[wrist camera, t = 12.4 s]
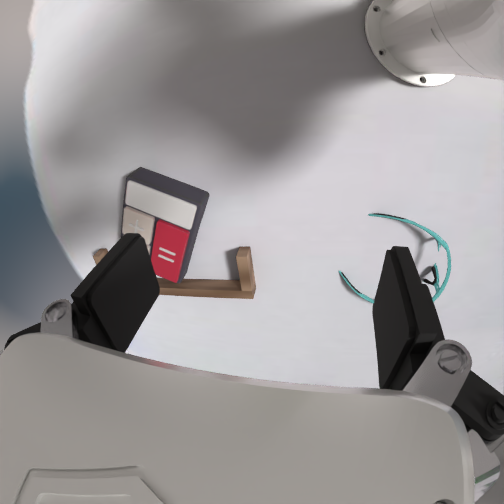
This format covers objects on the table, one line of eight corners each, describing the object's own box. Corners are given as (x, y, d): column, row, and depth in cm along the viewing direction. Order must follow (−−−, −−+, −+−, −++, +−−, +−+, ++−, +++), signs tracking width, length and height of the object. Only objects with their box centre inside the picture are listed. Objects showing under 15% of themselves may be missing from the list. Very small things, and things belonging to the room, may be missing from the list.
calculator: (117, 260, 43) (123, 177, 34) (129, 245, 47) (139, 165, 38) (178, 288, 44) (199, 207, 35) (188, 270, 47) (210, 192, 38)
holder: (100, 248, 47) (92, 256, 45) (250, 246, 42) (246, 256, 40) (114, 282, 51) (108, 290, 49) (255, 288, 46) (253, 298, 44)
